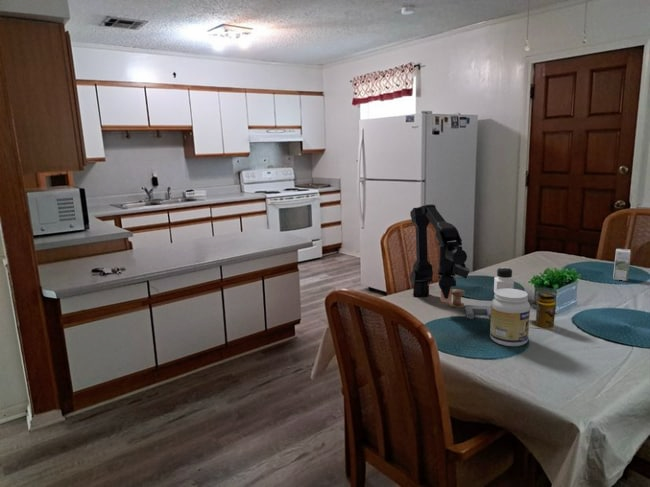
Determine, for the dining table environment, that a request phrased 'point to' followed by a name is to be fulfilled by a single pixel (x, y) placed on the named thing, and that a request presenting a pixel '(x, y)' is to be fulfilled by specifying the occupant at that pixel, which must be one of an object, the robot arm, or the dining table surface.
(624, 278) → the syrup box
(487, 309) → the notched board
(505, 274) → the medicine bottle
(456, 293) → the door knob
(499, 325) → the supplement tub
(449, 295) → the copper brown block
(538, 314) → the condiment
